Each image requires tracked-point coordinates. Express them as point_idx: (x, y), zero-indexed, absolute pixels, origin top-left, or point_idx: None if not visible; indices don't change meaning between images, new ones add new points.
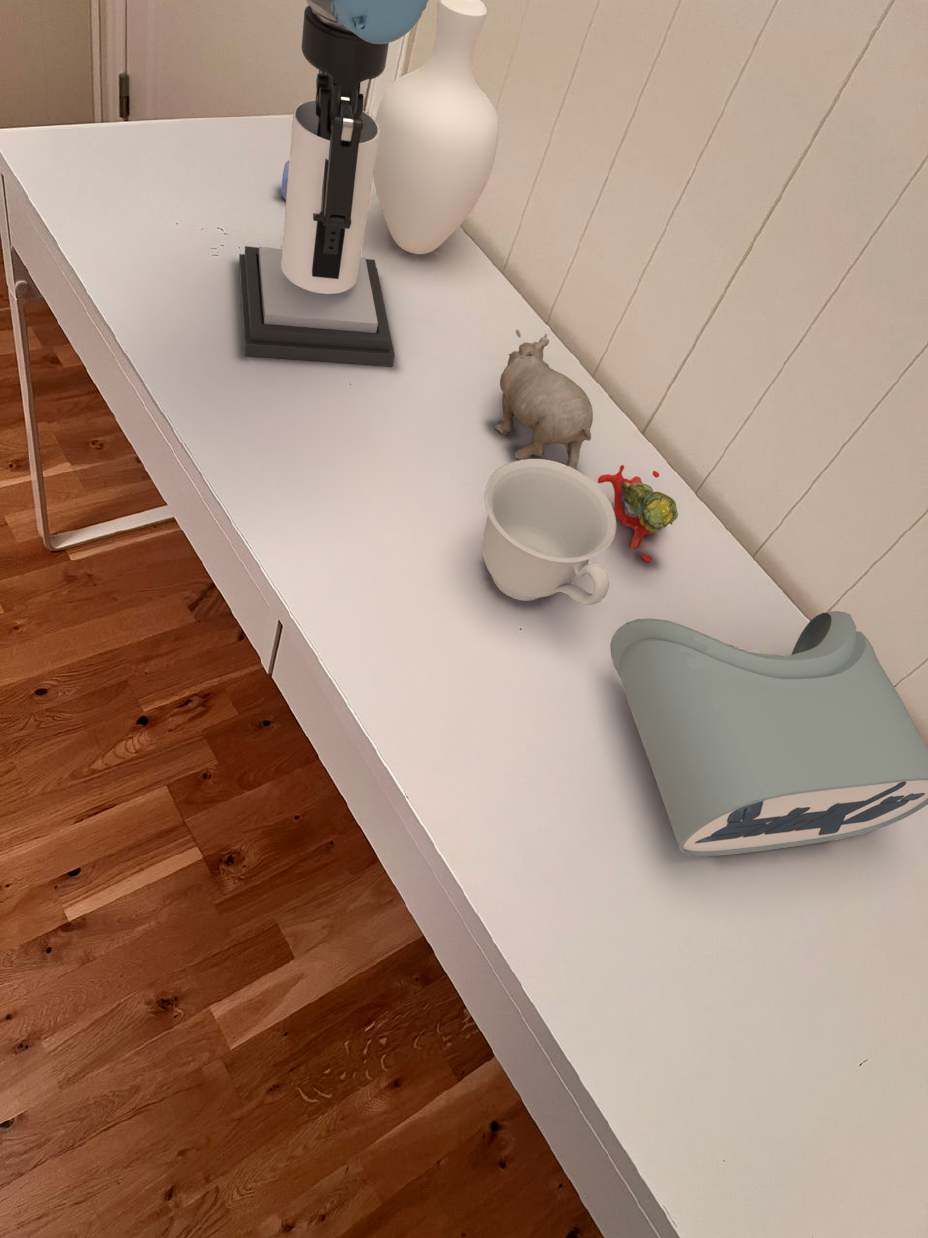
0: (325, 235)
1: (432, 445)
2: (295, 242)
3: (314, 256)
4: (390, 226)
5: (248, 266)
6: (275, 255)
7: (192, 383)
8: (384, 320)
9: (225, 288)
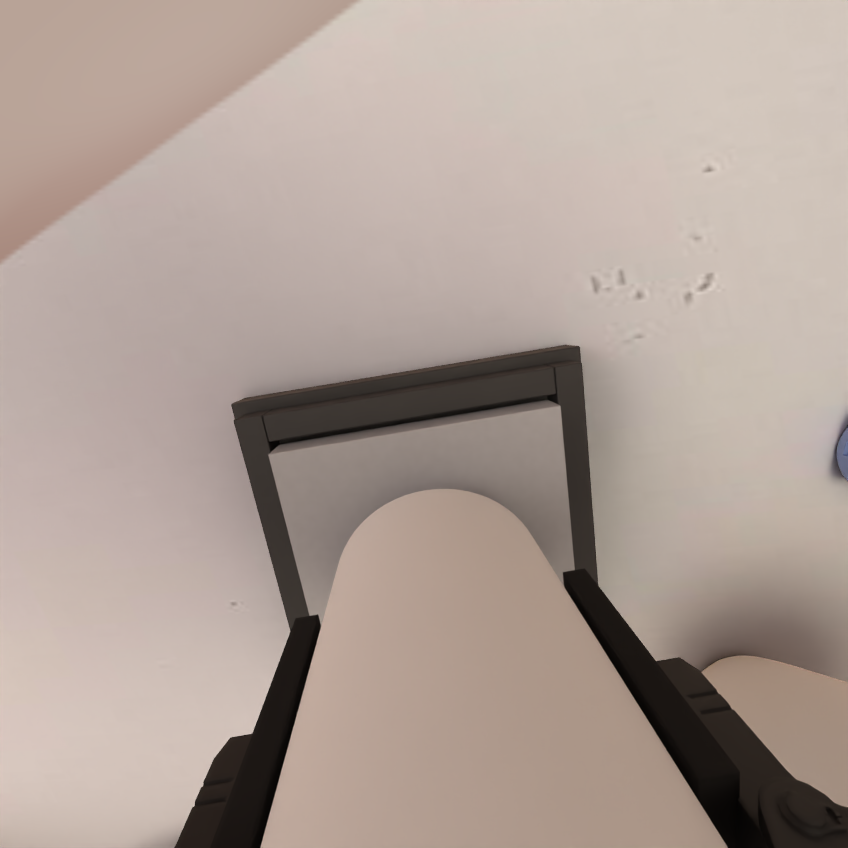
0: (183, 832)
1: (119, 743)
2: (340, 604)
3: (277, 673)
4: (738, 684)
5: (493, 382)
6: (530, 450)
7: (110, 301)
8: None
9: (472, 325)
